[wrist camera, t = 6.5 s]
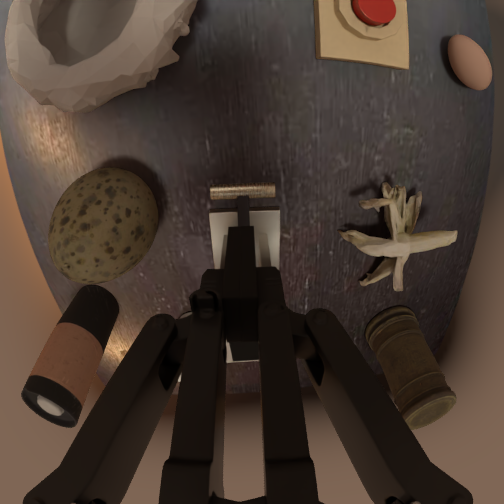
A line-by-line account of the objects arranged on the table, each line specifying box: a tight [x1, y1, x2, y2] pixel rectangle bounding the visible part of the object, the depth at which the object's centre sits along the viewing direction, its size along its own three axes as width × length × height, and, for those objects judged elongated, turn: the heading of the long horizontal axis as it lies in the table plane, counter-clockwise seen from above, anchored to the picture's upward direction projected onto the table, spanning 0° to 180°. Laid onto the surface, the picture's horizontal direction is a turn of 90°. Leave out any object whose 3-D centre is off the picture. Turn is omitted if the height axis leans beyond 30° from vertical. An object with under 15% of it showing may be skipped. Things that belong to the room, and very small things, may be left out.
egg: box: [448, 35, 492, 90], centre depth 23 cm, size 5×5×7 cm
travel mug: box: [21, 285, 119, 428], centre depth 34 cm, size 8×8×20 cm
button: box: [352, 0, 396, 26], centre depth 20 cm, size 4×4×2 cm
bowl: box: [5, 0, 198, 113], centre depth 19 cm, size 21×20×10 cm
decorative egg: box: [48, 167, 158, 284], centre depth 28 cm, size 11×11×15 cm
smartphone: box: [226, 339, 259, 363], centre depth 46 cm, size 7×15×1 cm, turn 95°
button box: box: [314, 0, 409, 70], centre depth 22 cm, size 12×10×4 cm
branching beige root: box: [337, 182, 457, 291], centre depth 34 cm, size 9×16×15 cm
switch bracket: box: [209, 207, 280, 270], centre depth 33 cm, size 10×8×12 cm
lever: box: [210, 182, 275, 226], centre depth 29 cm, size 12×6×2 cm, turn 2°
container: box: [365, 306, 456, 430], centre depth 38 cm, size 9×9×18 cm
